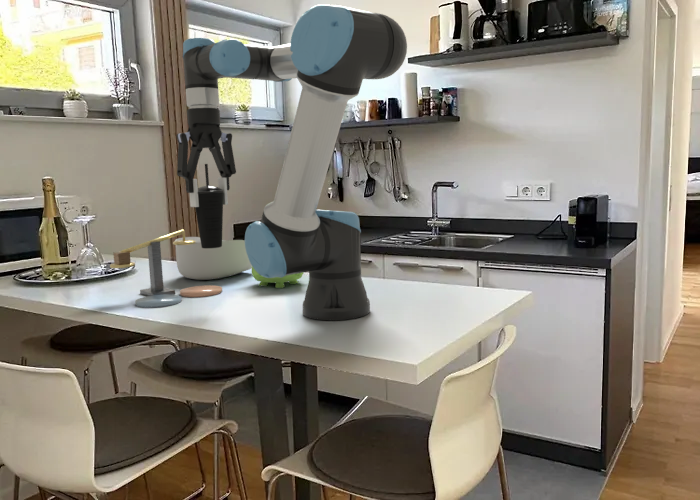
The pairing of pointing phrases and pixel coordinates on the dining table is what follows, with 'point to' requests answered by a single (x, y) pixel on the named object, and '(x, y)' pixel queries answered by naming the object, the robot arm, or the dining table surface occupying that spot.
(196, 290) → the orange disc
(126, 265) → the balance
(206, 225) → the drinking cup
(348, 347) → the dining table surface
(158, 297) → the dish low side
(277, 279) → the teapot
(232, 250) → the bowl
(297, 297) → the dining table surface
